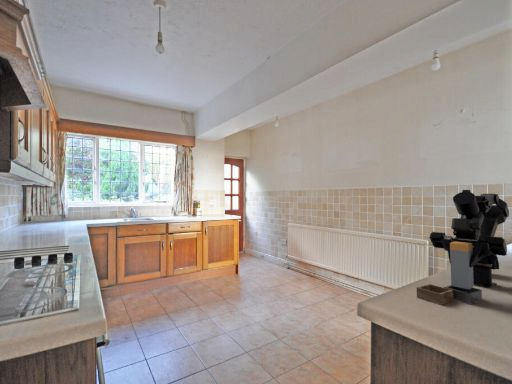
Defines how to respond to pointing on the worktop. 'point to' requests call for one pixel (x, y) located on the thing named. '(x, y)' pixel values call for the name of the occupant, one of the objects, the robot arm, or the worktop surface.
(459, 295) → the socket
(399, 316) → the worktop surface
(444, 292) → the square frame
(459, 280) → the plug
